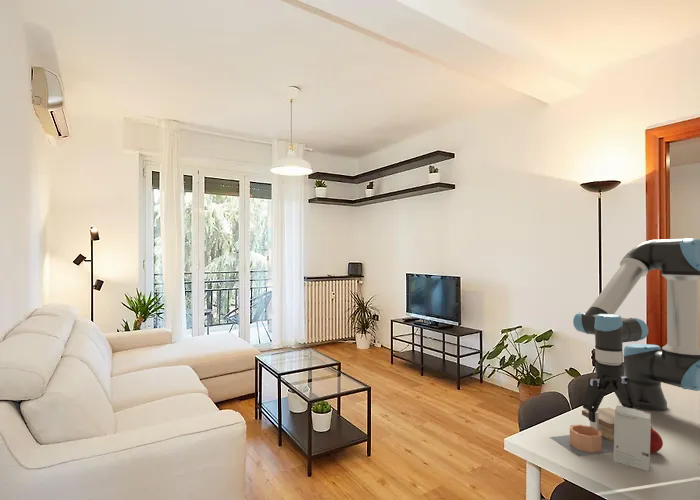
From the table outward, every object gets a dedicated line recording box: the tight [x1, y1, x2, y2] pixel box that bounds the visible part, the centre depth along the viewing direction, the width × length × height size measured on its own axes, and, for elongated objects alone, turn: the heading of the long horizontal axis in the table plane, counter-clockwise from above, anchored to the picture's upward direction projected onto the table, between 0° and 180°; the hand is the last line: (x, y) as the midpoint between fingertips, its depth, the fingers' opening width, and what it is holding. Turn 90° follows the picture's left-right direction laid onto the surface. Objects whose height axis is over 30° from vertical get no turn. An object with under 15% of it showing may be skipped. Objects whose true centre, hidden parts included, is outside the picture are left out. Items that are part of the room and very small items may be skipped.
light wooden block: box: [599, 424, 614, 441], centre depth 126 cm, size 7×7×5 cm
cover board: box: [581, 407, 615, 429], centre depth 126 cm, size 11×11×2 cm
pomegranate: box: [650, 425, 664, 454], centre depth 115 cm, size 6×6×8 cm
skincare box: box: [612, 405, 652, 472], centre depth 109 cm, size 8×6×15 cm
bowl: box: [569, 423, 603, 453], centre depth 118 cm, size 8×8×4 cm
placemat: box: [549, 434, 614, 457], centre depth 120 cm, size 16×12×1 cm
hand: (609, 429), depth 126 cm, fingers open, 11 cm apart
